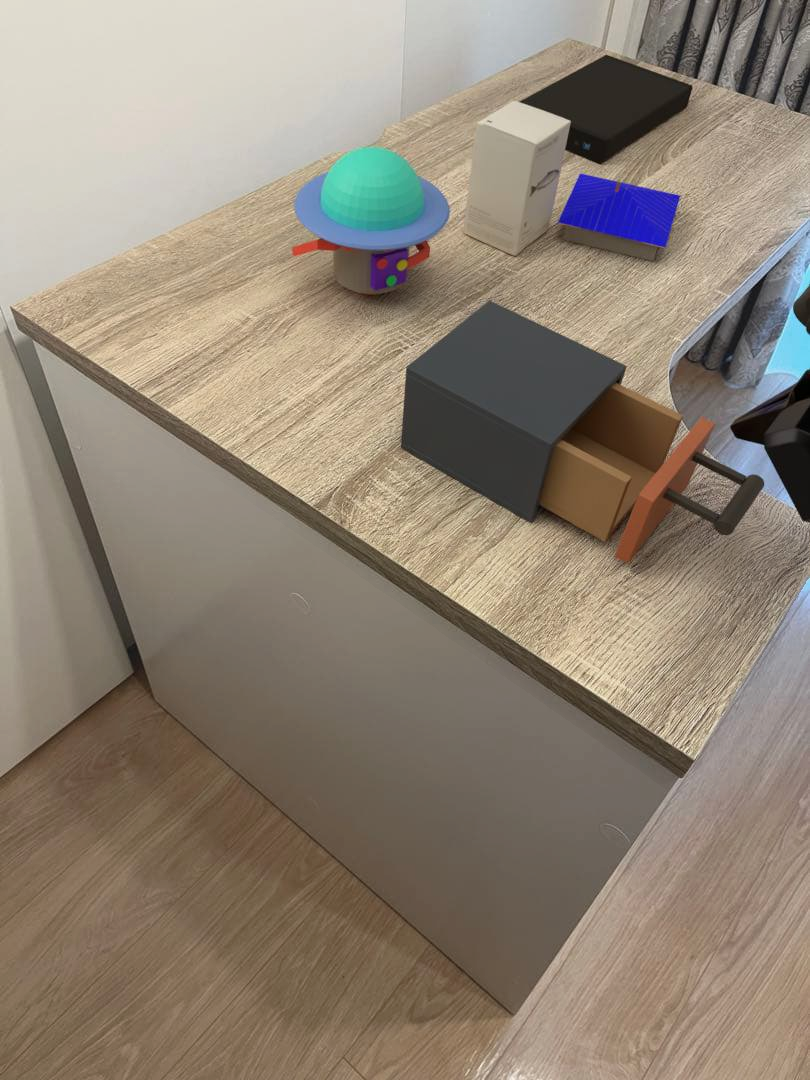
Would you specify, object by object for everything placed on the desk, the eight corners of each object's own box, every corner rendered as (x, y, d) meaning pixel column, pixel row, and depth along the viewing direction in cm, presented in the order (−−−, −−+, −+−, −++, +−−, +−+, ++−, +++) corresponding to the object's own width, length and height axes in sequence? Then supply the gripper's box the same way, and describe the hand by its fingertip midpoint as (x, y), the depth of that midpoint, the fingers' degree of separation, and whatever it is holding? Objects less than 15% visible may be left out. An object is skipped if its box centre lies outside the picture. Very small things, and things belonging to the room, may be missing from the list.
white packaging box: (516, 258, 95) (536, 144, 85) (460, 233, 97) (474, 120, 87) (550, 231, 98) (573, 119, 89) (496, 208, 101) (513, 97, 91)
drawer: (748, 518, 70) (783, 456, 65) (692, 601, 65) (725, 540, 59) (560, 421, 77) (577, 356, 71) (494, 488, 71) (507, 423, 66)
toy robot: (399, 233, 96) (405, 104, 86) (468, 306, 88) (486, 174, 78) (274, 264, 91) (265, 131, 80) (336, 344, 83) (335, 209, 72)
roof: (576, 191, 105) (585, 147, 100) (674, 214, 102) (688, 170, 98) (553, 241, 97) (563, 196, 93) (659, 266, 95) (673, 221, 91)
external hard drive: (686, 108, 121) (693, 85, 119) (601, 164, 109) (606, 141, 107) (600, 76, 127) (605, 54, 124) (509, 126, 115) (513, 103, 112)
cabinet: (601, 445, 76) (627, 365, 69) (531, 523, 70) (551, 444, 63) (477, 380, 81) (489, 299, 74) (400, 448, 75) (406, 367, 68)
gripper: (975, 167, 50) (736, 270, 63) (875, 312, 40) (614, 399, 53) (1042, 332, 53) (801, 399, 66) (964, 505, 43) (697, 544, 56)
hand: (734, 429), depth 60 cm, fingers closed
